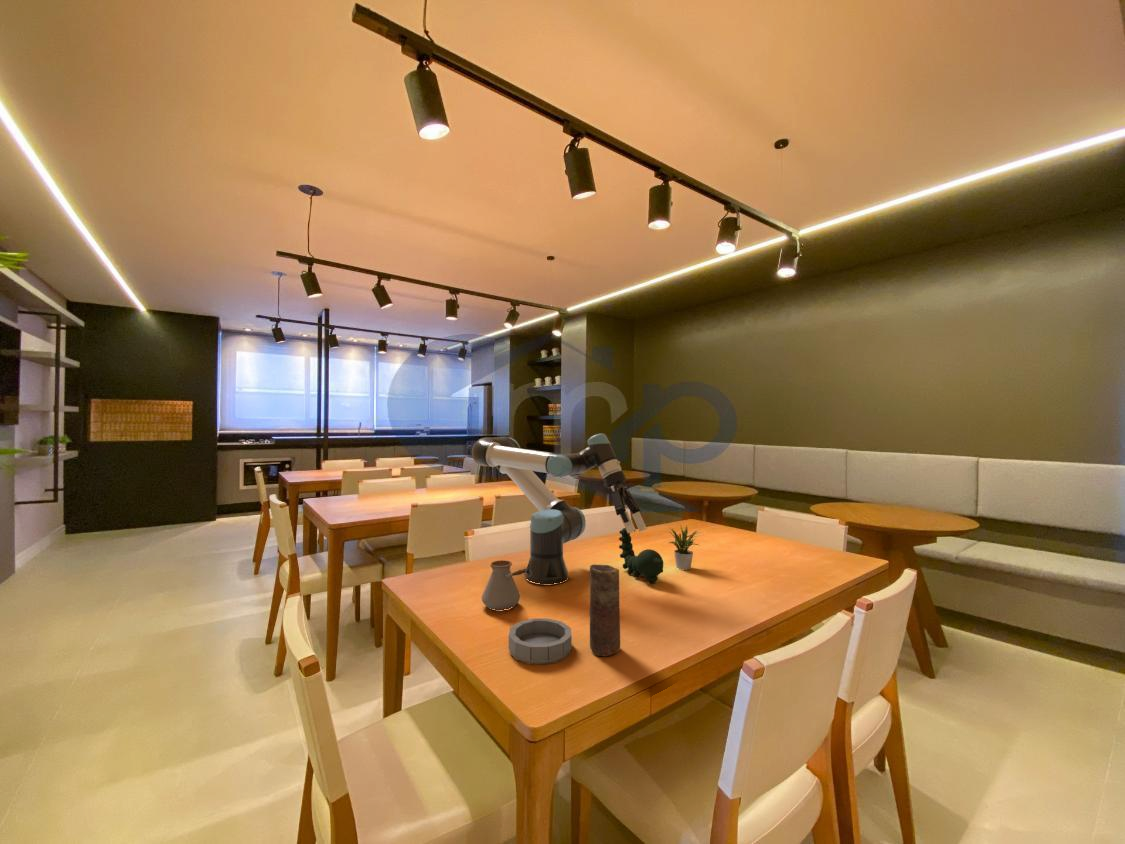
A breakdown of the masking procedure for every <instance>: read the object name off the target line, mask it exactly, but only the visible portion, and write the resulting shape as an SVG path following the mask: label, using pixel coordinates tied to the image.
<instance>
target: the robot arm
mask: <svg viewBox="0 0 1125 844" xmlns="http://www.w3.org/2000/svg"><path fill="white" fill-rule="evenodd" d="M587 445H588V446H587V447H585V449H582V450H581V451H579V452H576V453H566V454H564V453H563V454H562V453H555V452H548V451H542V450H535V449H527V448H526V449H525V448H521V446H520V444H519V443H518V441H517V440H516V439H514V438H512V437H508V436H499V437H481V438H480V439H478V440H477V441H476V442H474V444H473V445H472V448H471V456H472V459H473V461H474V462H475V463H476V464H477V465H479V466H483V467H490V468H496V469H497V470H498V471H499V473H501V474H503V475H504V474H506V475H507V476H508V477H509V479H511V481H512V482H513V483H514V484H515V485H516V486H517V487H518V489H519V490H520V491H521V492H522V493H523V494H524V495H525V497H527V499H528V500H529V501H530V502H531V503H532V504H533V505H534V507H535V508H536V509H537V511H536V512H534V513H533V514H531V518H530V524H529V529H530V531H529V532H530V539H529V540H530V547H529V548H530V551H529V552H530V557H529V560H528V563H527V567H526V569H529V571H528V572H526V573H524V578H525V577H526V579H528V580H529V581H532V582H535V583H540V584H554V583H560V582H563V581H565V580H567V581H568V579H569V577H568V576H569V572H568V568H567V564H566V562H565V559H564V544H566V543H567V542H570V541H573V540H575V539H577V538H579V537H580V536H582V535H583V533H584V532H585V529H586V521H587V520H586V517H585V515H584V512H582V510H581V509H580V508H577V507H574V506H571V505H570V504H569V503H568V502H567V501H566V500H565V499H559V498H558V497H557V496H556V495H555V493H554V492H552V490H550V488H549V487H548V486H547V485H546V484H545V483H544V482H543V481H542V479H541V478H539V477H538V475H537V474H536V473H535V472H538V473H545V474H549V475H550V476H553V477H555V478H563V477H566V476H567V477H568V476H570V477H571V478H576V477H577V478H578V477H579V476H582V475H583V474H585V473H586V472H588V471H589V470H591V469H593V468H595V467H598V471H599V473H600V475H601V477H602V478H603V483H604V484H605V486H606V488H607V489H608V490H609V492H610V494H611V500H612V502H613V503H612V504H613V506H614V510H615V514H616V515H617V516H619V517H620V519H621V521H622V524H623V526H624V528H626V530H627V533H630V534H631V533H632V532H634V531H635V532H636V527H637V529H638V532H640V533H641V532H643V531H645V530H647V526H646V524H645V521H644V519H643V517H642V515H641V513H640V511H642V510H641V507H640V506H639V505H638V504H637V502H636V500H635V499H634V496H633V495H632V494H631V492H630V490H629V488H628V486H627V485H626V486H624V483H626V481H627V478H626V474H625V472H624V470H623V471H622V466H621V461H619V460H618V458H617V456H616V454H615V452H614V449H613V447H612V445H611V442H610V440H609V439H608V437H607V435H606V434H605V433H597V434H594V435H592V436H590V437H589V439H587ZM626 507H627V508H628V509H629V511H630V512H631V516H632V519H634V520H632V519H631V517H630V514H629V511H626ZM633 521H634V522H635V525H636V526H635V525H634V523H633ZM530 570H531V571H532V575H531V571H530ZM525 575H526V576H525ZM530 575H531V576H530ZM527 576H530V577H527ZM567 578H568V579H567ZM526 579H525V580H526ZM565 582H566V581H565ZM563 583H564V582H563Z"/></svg>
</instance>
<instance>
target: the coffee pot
mask: <svg viewBox="0 0 1125 844" xmlns="http://www.w3.org/2000/svg"><path fill="white" fill-rule="evenodd" d="M511 566H513V562H511V561H510V560H503V559H502V560H494V561H492V562H491V563H490V567H491V570H492V572H491V574H490V576H489V579H488V581H487V584H486V586H485V588H484V589H483V590H484V591H483V593H482V595H481V601H482V603H483V604H484V606H485V607H487V608H488V609H489V608H491V609H495V610H504V609H509V608H511V607H513V606H516V605H517V604H518V603H519V601H520V599H521V594H520V592H519V589H518V586H517V584H516V582H515V579H514V577H513V576H520V575H522V574H524V577H525V576H526V575H525V573H526V572H528V571H529V569H527V568H523V569H518V570H516V571H514V572H511ZM530 571H531V570H530ZM531 575H532V571H531ZM531 575H530V576H531ZM530 576H527V577H530ZM513 608H514V607H513Z"/></svg>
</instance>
